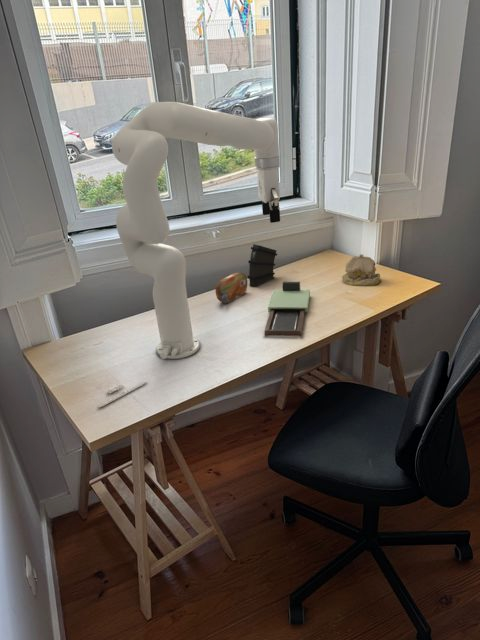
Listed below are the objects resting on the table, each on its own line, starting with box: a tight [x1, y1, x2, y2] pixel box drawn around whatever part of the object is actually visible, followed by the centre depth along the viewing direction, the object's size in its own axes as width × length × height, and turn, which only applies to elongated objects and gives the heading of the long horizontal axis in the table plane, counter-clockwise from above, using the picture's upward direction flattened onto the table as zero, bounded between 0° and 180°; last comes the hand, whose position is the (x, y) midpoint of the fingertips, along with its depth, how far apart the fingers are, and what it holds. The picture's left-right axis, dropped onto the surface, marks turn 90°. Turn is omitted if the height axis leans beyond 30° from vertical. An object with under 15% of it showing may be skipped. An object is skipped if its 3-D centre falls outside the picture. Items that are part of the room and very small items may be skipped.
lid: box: [267, 281, 311, 313], centre depth 169 cm, size 15×13×5 cm
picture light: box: [98, 382, 145, 408], centre depth 129 cm, size 14×4×2 cm, turn 138°
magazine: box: [247, 243, 278, 287], centre depth 190 cm, size 4×13×15 cm, turn 137°
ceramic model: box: [343, 254, 381, 286], centre depth 185 cm, size 14×11×10 cm
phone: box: [272, 312, 299, 330], centre depth 158 cm, size 14×7×1 cm, turn 172°
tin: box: [215, 272, 248, 304], centre depth 178 cm, size 15×3×8 cm, turn 143°
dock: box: [264, 309, 306, 337], centre depth 164 cm, size 30×11×2 cm, turn 172°
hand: (271, 218), depth 162 cm, fingers open, 9 cm apart
